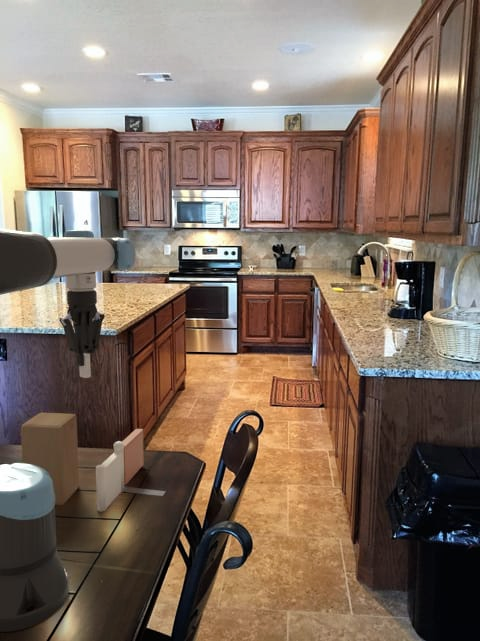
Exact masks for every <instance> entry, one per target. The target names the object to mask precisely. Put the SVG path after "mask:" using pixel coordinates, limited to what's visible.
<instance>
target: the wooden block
mask: <svg viewBox="0 0 480 641" xmlns="http://www.w3.org/2000/svg"><path fill="white" fill-rule="evenodd" d="M77 425H78V420H77V415H76V414H74V413H63V412H62V413H60V412H59V413H58V412H40V413H37V414H36V415H35V416H33V417H31V418H30V419H29V420H27V421H26V422H24V423H23V424H21V427H20V440H21V441H20V443H21V461H22V462H21V463H26V464H32V465H35V466H38V467H40V468H42V469H44V470H45V471H46V472H47V473H48V474H49V475H50V478H51V479H52V482H53V489H54V494H55V506H63V505H65V504H66V503H67V502H68V500H69V499H70V498H71V497H72V496H73V495H74V493H75V492H76V491H77V490H78V488H79V487H80V473H79V451H78V450H79V448H78V426H77Z"/></svg>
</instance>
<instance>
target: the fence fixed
mask: <svg viewBox="0 0 480 641" xmlns="http://www.w3.org/2000/svg"><path fill="white" fill-rule="evenodd" d="M123 449H124V444H123V442H122V441H120V440H118V441H115V442H114V443H113V450H114V452H113V453H112V454H111V455H110V456H109V457H107V458H106V459H105V460H104V461H103V462H102V463H100V464H97V465H96V466H95V482H96V483H95V485H96V510H97V512H104V511H106V510H107V509H106V508H107V507H108V506H109V505H110V504H111V503H112V501H113V500H114V499H115V498H116V497H117V496H118V495H119V493H120V492H121V491H122V490H124V486H125V485H124V452H123ZM119 496H120V495H119ZM119 496H118V497H119ZM118 497H117V498H118ZM117 498H116V499H117ZM112 504H113V503H112ZM112 504H111V505H112ZM111 505H110V506H111Z"/></svg>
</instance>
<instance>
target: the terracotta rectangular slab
mask: <svg viewBox="0 0 480 641" xmlns="http://www.w3.org/2000/svg"><path fill="white" fill-rule="evenodd" d="M121 442H123V444H124V449H123V452H124V486H126V485H127V484H128V483H129V482H130V480H132V479H133V478H134V476H135V475H136V474H137V473H138V472H139V470H140V469H141V468H143V466H144V428H136V429H134V430H133V431H132V432H131V433H130V434H129V435H128V436H127V437H126V438H124V440H122V441H121Z"/></svg>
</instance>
